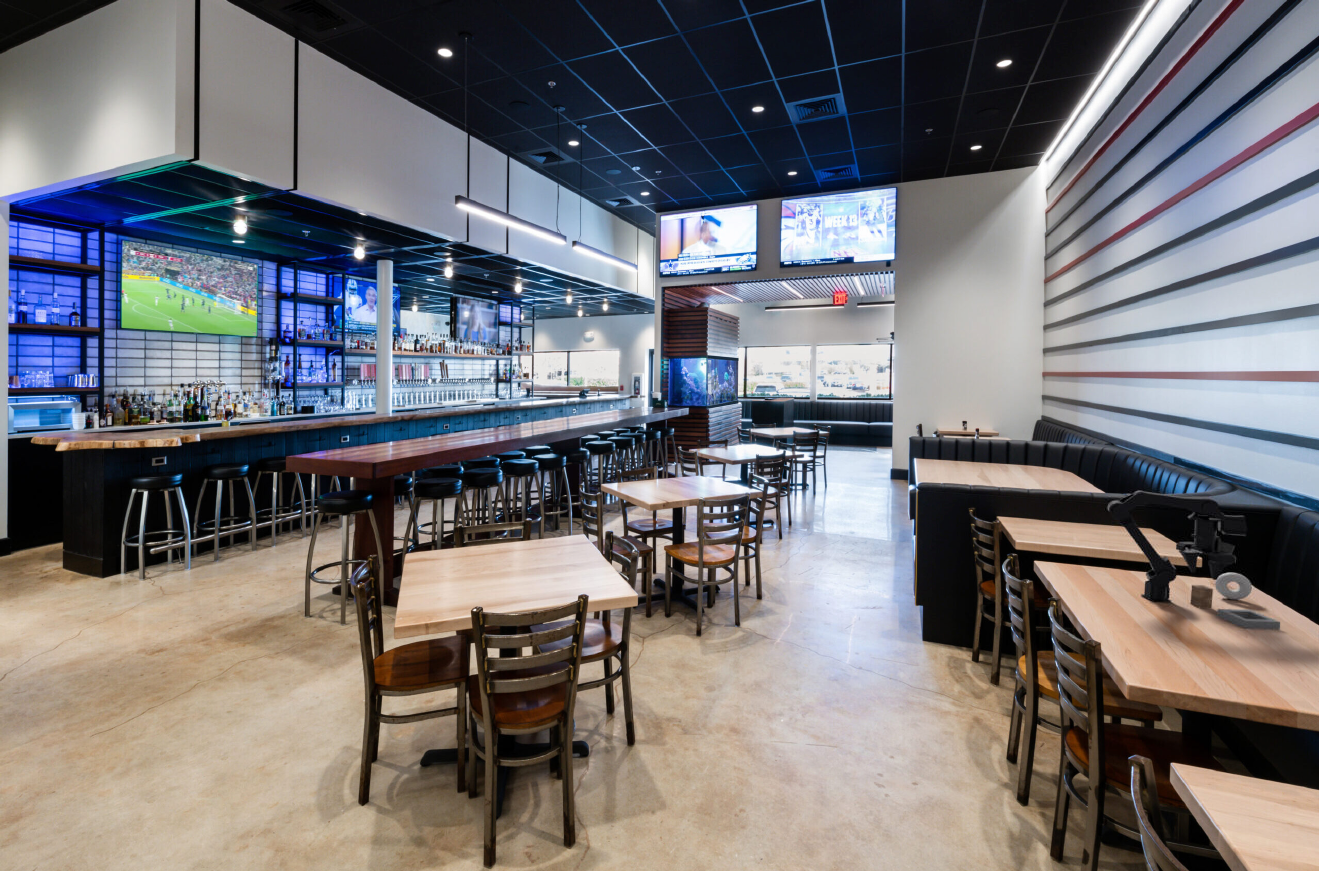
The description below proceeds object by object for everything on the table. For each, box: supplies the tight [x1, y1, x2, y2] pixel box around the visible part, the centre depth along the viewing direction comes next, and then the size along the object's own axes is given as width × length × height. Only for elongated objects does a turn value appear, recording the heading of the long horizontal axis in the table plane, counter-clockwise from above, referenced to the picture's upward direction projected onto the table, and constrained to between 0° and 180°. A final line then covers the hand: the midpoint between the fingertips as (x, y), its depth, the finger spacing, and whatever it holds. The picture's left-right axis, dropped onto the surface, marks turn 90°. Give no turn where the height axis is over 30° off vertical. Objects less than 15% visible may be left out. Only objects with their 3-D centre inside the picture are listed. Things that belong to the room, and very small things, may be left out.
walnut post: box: [1190, 584, 1214, 609], centre depth 215 cm, size 4×4×7 cm
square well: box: [1216, 608, 1281, 630], centre depth 200 cm, size 11×11×2 cm
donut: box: [1214, 572, 1253, 600], centre depth 221 cm, size 10×4×10 cm, turn 56°
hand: (1203, 575), depth 214 cm, fingers open, 9 cm apart
